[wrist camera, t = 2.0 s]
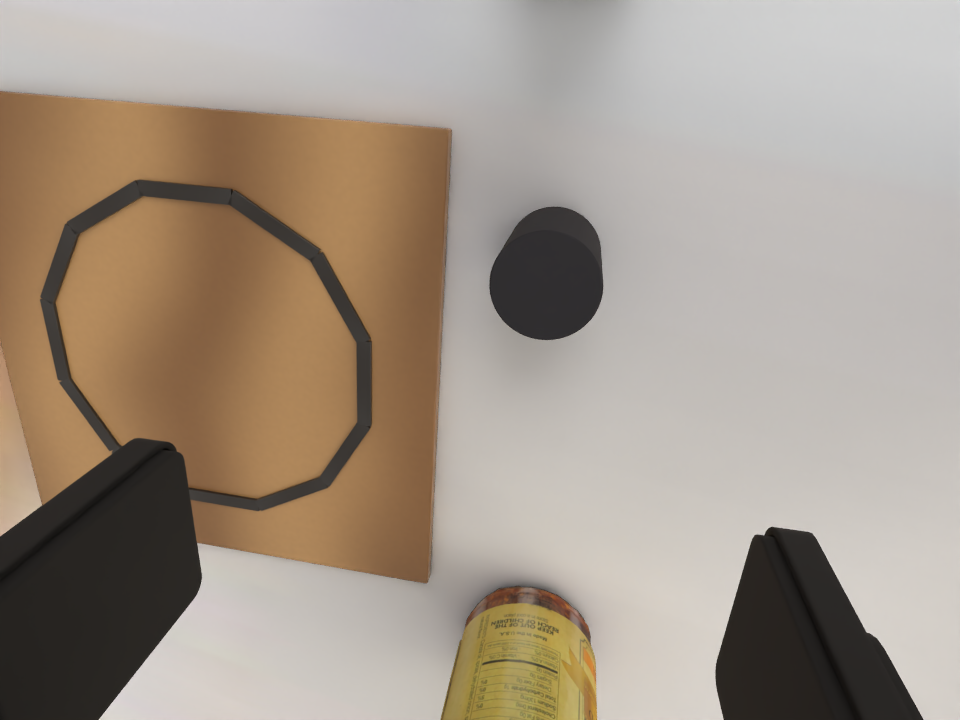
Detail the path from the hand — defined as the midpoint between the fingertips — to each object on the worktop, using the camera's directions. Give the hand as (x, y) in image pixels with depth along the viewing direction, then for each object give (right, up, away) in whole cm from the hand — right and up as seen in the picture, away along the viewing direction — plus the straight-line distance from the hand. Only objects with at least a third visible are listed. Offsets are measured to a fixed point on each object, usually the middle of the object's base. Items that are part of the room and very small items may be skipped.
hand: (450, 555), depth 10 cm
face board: (-11, +3, +17) cm, 20 cm away
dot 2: (+3, +7, +12) cm, 15 cm away
